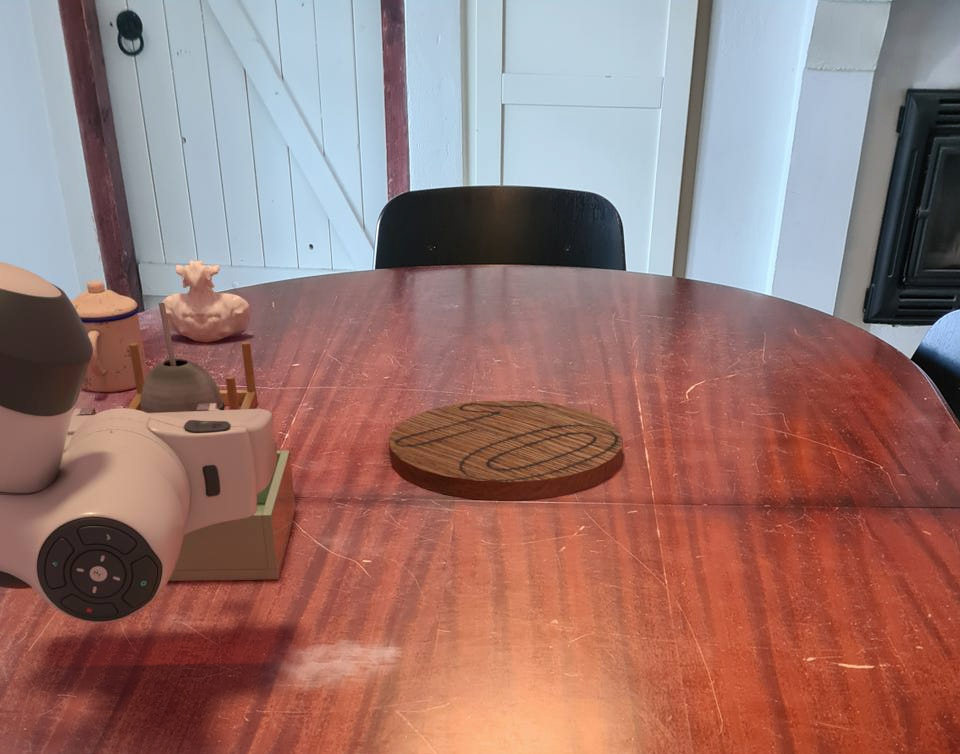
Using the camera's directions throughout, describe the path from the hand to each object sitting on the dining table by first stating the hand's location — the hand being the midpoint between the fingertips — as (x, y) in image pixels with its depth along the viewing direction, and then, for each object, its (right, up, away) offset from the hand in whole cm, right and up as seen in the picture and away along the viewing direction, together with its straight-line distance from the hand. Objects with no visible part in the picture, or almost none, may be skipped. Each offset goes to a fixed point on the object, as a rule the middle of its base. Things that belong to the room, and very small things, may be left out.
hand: (148, 415), depth 97 cm
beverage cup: (0, -5, +17) cm, 18 cm away
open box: (0, -6, +18) cm, 19 cm away
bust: (-11, +36, +71) cm, 81 cm away
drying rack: (-7, +15, +45) cm, 48 cm away
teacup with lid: (-20, +23, +56) cm, 63 cm away
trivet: (+29, +8, +36) cm, 47 cm away
